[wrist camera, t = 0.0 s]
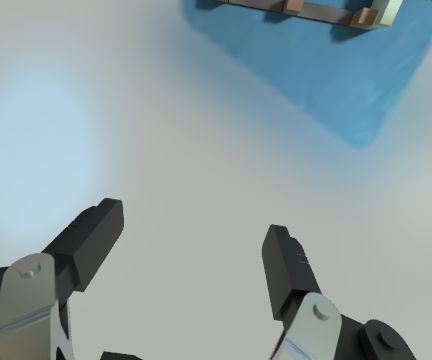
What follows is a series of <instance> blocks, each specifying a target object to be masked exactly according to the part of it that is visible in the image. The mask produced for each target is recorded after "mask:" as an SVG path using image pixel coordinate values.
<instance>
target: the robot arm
mask: <svg viewBox="0 0 432 360" xmlns="http://www.w3.org/2000/svg"><path fill="white" fill-rule="evenodd" d="M123 227H124V216H123V206H122V201H121V200H116V199H110V198H105V199H103V200H102V201H101V202H100V204H99V205H98V206H97V207H96V206H92V207H90V208H88V209H86V210H84V211H83V212H81V213H80V214H79V215H78V216H77V217H76V218H75V220H74V221H72V222H71V223H70V224H69V225H68V227H66V228H65V229H64V230H63V231H62V232H61V233H60V234H59V235H58V236H57V237H56V238H55V239H54V240H53V241H52V242H51V243H50V244H49V245H48V246H47V247H46V248H45V249H44V250H43V251H42V252H41V253H35V254H31V255H28V256H26V257H23V258H21V259H19V260H18V261H16V262H14V263H13V264H12V265H11V266H9V267H1V268H0V360H75V358H74V353H73V348H72V339H71V324H70V312H69V311H70V310H69V300H68V298H69V297H70V295H71V294H72V292H73V291H79V292H84V291H85V289H86V288H87V286H88V284H89V283H90V281H91V280H92V278H93V277H94V275H95V274H96V272H97V270H98V269H99V267H100V266H101V264H102V263H103V261H104V260H105V258H106V256H107V255H108V253H109V252H110V250H111V249H112V247H113V245H114V244H115V242H116V241H117V239H118V238H119V236H120V234H121V233H122V230H123ZM262 258H263V264H264V269H265V274H266V280H267V285H268V291H269V296H270V302H271V307H272V312H273V318H274V320H279V321H282V322H283V326H284V330H283V331H282V333H281V335H280V337H279V339H278V341H277V343H276V345H275V347H274V349H273V351H272V353H271V355H270V358H269V360H416V358H415V357H414V355H413V353H412V352H411V350H410V348H409V347H408V345H407V344H406V342H405V341H404V339H403V338H402V337H401V336H400V335H399V334H398V333H397V332H396V331H395V330H394V329H393V328H391V327H390V326H389V325H387V324H385V323H384V322H381V321H379V320H374V319H373V320H369V321H368V322H367V323H366V324H361V323H359V322H357V321H355V320H353V319H351V318H348V317H346V316H344V315H342V314H340V313H339V311H338V309H337V308H336V306H335V305H334V304H333V303H332V302H331V301H330V300H329V299H328V298H326V297H325V296H323V295H322V293H321V291H320V289H319V286H318V284H317V282H316V279H315V277H314V274H313V272H312V269H311V267H310V265H309V264H308V263H309V262H308V260H307V257H305V253H304V250H303V248H302V246H301V245H300V243H299V242H298V241H297V240H296V239H295V238H292V237H290V235H289V232H288V230H287V228H286V227H285V226H279V225H273V224H272V225H270V227H269V230H268V232H267V235H266V238H265V240H264V243H263V246H262ZM100 360H142V359H140V358H138V357H136V356H134V355H127V354H120V353H112V352H105V351H104V352H103V354H102V356H101V359H100Z"/></svg>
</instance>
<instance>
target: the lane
mask: <svg viewBox="0 0 432 360" xmlns="http://www.w3.org/2000/svg"><path fill="white" fill-rule="evenodd" d="M217 1H222V2H227V3H228V0H217ZM402 1H403V0H373V2H372V5H371V7H370V9H369V8H362V9H360V10H358V11H356V12H354V11H349V10H344V9H339V8H334V7H329V6H324V5H318V4H313V3H308V2H304V0H285V3H284V7H283V11H282V13H284V14H289V15H294V16H296V15H297V16H299V17H304V18H309V19H315V20H320V21H325V22H330V23H335V24H340V25H345V26H348V25H349V26H351V27H356V28H361V29H366V30H371V31H372V30H375V29H379V28H383V27H387V26H391V24H392V22H393V20H394V18H395V15H396V13H397V11H398V9H399V7H400V5H401V3H402ZM283 2H284V0H229V3H232V4H238V5H243V6H248V7H253V8H258V9H263V10H268V11H274V12H279V13H281V10H282V6H283ZM353 12H354V13H353ZM352 14H353V16H352ZM351 17H352V18H351ZM350 20H351V21H350ZM349 22H350V23H349Z"/></svg>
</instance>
